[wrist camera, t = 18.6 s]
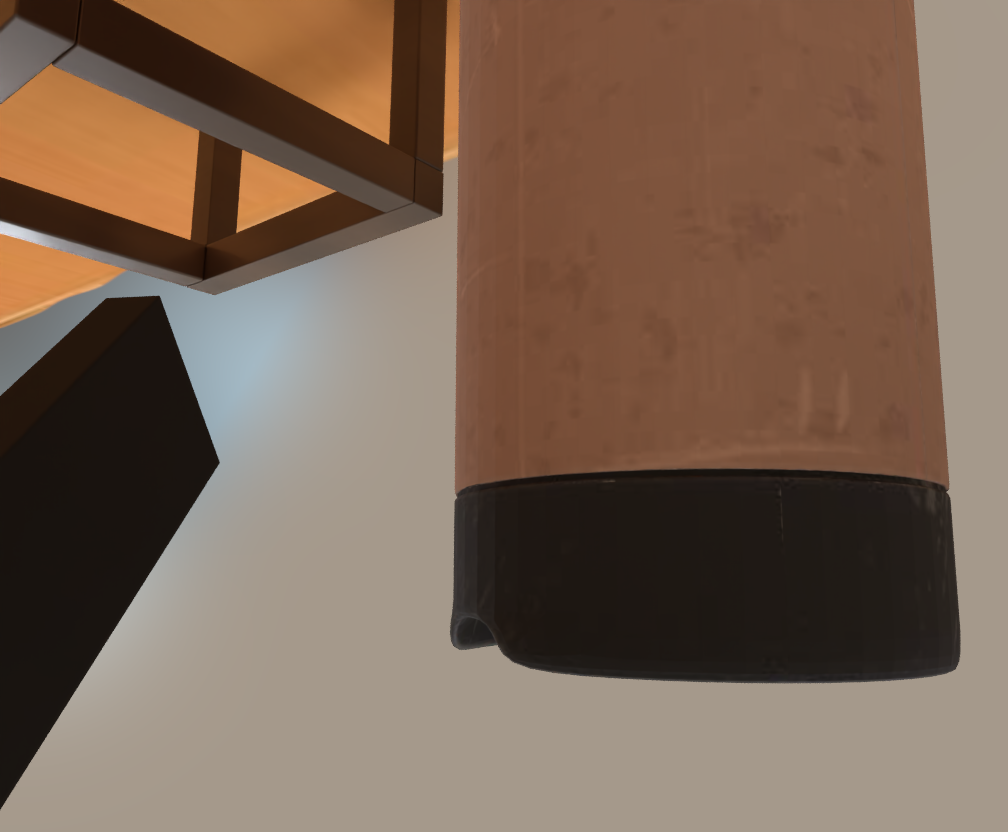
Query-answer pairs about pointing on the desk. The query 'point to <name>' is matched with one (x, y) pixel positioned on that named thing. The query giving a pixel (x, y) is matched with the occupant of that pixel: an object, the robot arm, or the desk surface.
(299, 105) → the rack
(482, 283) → the travel mug
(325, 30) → the desk surface
